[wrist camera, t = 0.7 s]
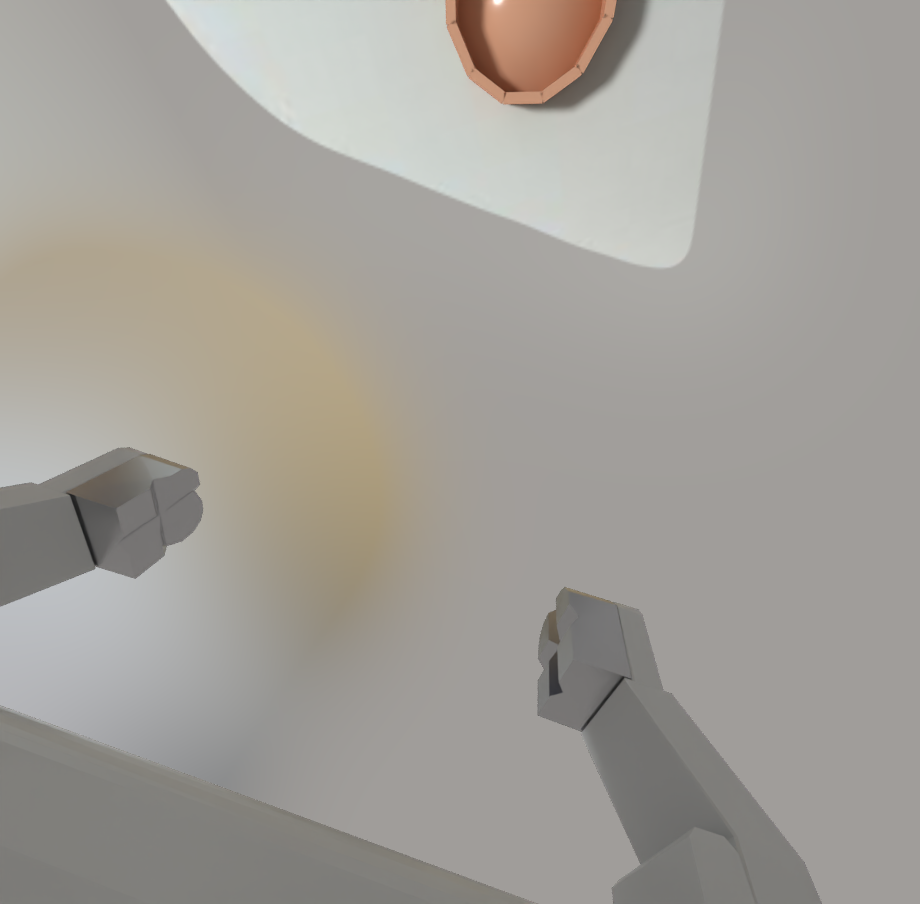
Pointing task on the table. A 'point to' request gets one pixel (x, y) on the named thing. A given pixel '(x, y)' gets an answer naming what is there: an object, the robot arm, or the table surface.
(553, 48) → the terracotta dish
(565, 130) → the table surface
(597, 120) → the table surface
